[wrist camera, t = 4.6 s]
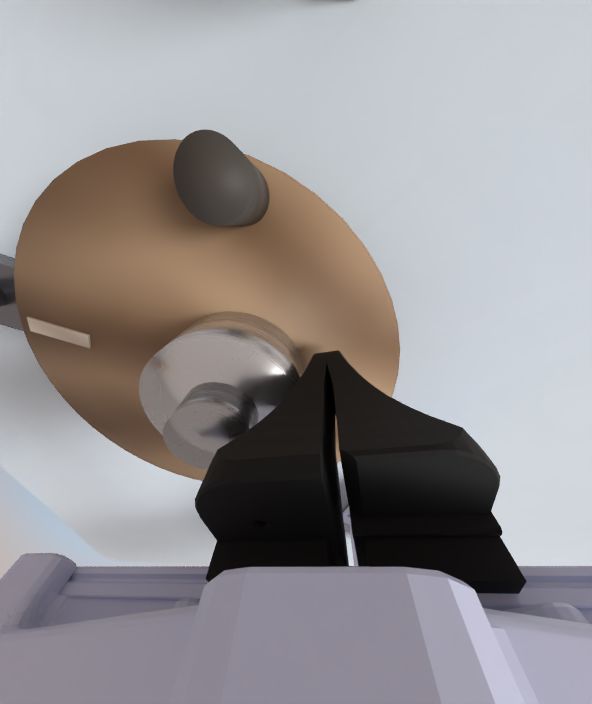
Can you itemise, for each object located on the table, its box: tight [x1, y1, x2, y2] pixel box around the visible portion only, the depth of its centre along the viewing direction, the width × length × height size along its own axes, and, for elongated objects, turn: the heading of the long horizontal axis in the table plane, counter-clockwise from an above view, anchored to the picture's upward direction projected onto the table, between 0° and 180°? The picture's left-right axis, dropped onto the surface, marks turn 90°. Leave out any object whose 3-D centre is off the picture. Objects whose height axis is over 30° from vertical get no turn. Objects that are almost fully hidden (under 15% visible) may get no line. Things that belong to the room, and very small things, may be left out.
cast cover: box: [139, 311, 305, 470], centre depth 10 cm, size 7×7×5 cm
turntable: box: [14, 130, 400, 481], centre depth 12 cm, size 20×20×4 cm
